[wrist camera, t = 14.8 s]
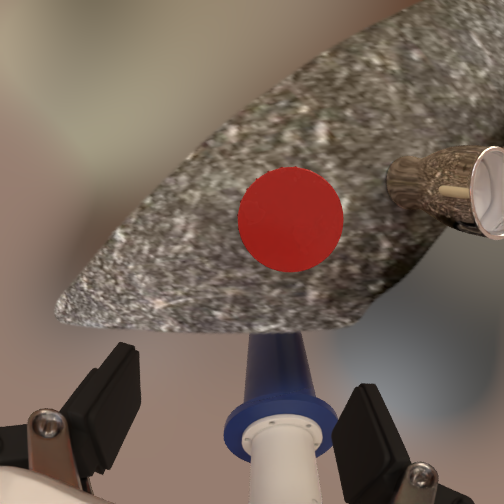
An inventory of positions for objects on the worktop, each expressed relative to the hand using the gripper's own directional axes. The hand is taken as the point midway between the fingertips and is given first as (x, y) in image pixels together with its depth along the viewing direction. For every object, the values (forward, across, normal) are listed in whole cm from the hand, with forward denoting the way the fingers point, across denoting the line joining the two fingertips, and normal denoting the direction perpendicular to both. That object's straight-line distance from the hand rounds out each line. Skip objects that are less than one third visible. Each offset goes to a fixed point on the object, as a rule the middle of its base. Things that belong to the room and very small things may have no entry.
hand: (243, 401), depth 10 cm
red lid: (+11, -2, -5) cm, 12 cm away
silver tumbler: (+22, -15, -11) cm, 29 cm away
